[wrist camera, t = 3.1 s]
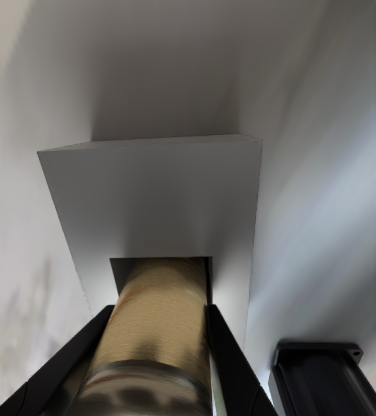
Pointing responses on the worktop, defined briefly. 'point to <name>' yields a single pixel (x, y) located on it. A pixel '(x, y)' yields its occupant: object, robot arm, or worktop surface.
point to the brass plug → (153, 346)
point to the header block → (159, 211)
